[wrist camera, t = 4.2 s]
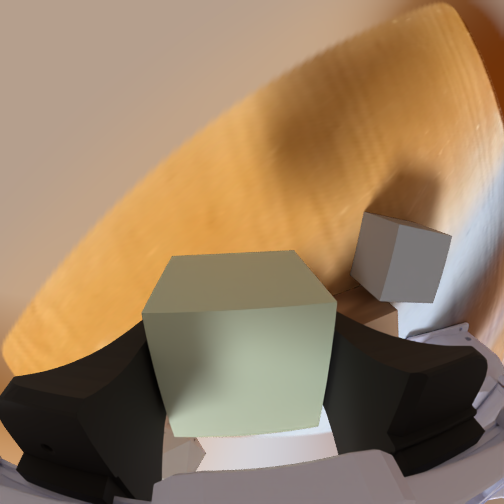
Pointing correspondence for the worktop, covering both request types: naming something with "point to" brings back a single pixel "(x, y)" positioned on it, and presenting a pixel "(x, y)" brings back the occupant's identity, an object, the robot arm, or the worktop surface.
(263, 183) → the worktop surface
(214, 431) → the sage block
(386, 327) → the walnut block
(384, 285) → the charcoal block
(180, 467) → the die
